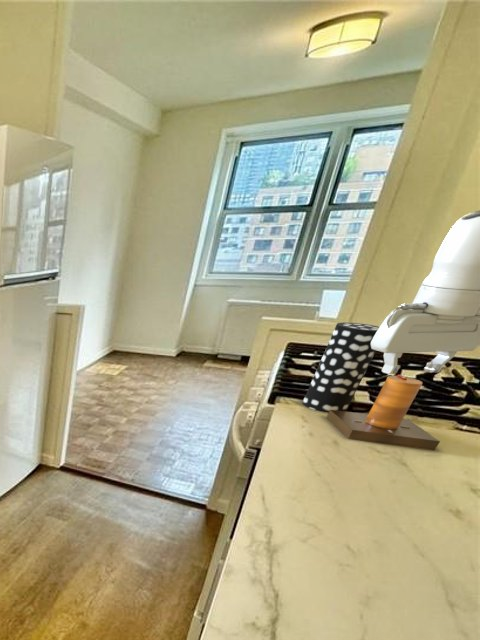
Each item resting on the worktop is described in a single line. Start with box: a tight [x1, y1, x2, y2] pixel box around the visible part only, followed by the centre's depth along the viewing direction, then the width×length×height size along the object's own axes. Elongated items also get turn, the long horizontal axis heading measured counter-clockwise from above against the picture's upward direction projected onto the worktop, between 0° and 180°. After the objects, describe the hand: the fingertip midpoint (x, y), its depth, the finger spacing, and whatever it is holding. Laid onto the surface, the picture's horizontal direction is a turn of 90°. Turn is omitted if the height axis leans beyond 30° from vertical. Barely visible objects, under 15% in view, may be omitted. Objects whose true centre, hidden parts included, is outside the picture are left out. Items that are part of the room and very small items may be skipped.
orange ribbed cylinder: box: [365, 374, 423, 429], centre depth 101 cm, size 5×5×10 cm
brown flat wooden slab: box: [326, 410, 441, 451], centre depth 104 cm, size 14×12×3 cm
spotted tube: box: [302, 322, 380, 414], centre depth 113 cm, size 8×8×20 cm
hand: (409, 372), depth 98 cm, fingers open, 8 cm apart
